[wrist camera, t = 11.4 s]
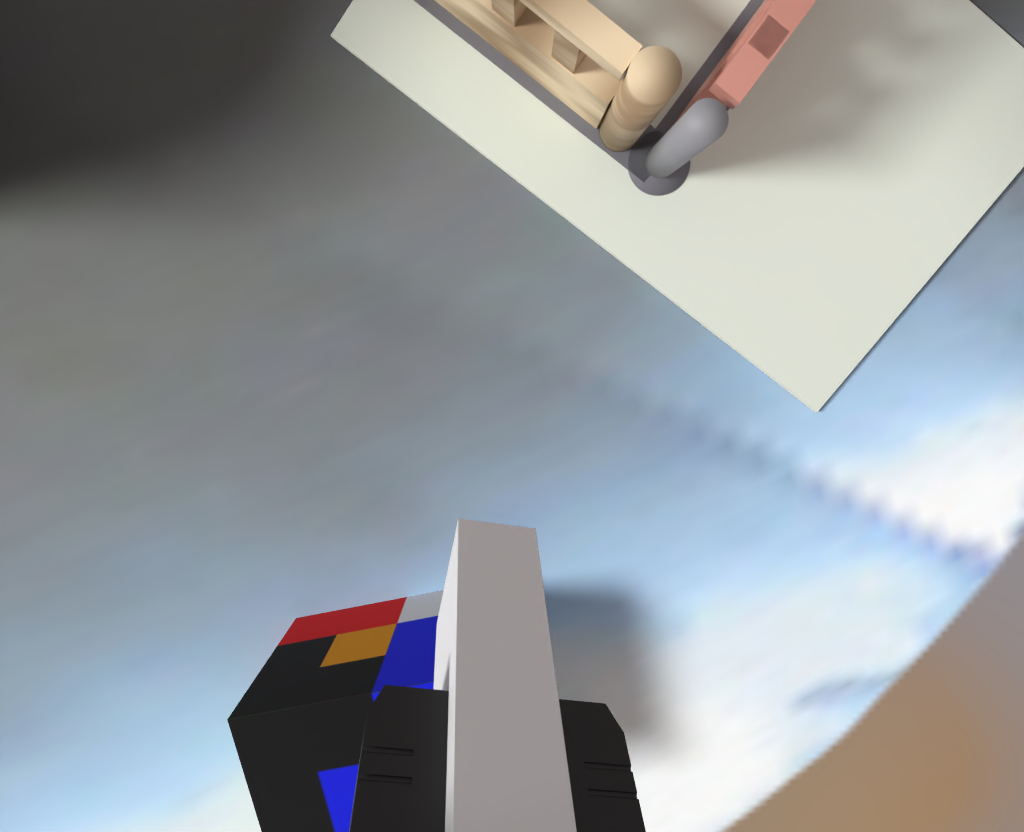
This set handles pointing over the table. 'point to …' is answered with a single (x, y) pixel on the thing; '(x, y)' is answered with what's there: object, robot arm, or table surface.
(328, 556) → the table surface
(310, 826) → the puzzle toy
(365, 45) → the card
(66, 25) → the table surface
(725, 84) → the hinged fence half
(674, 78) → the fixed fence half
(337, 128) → the table surface
